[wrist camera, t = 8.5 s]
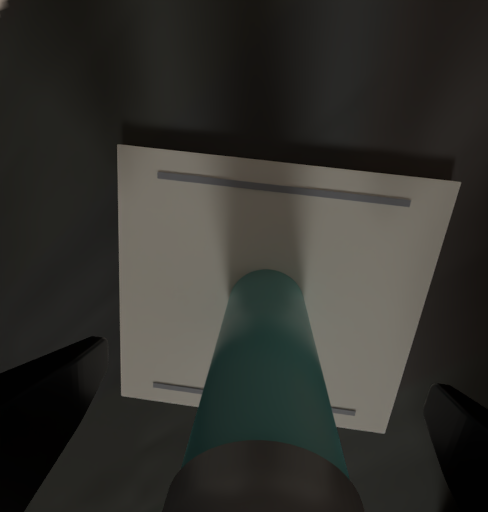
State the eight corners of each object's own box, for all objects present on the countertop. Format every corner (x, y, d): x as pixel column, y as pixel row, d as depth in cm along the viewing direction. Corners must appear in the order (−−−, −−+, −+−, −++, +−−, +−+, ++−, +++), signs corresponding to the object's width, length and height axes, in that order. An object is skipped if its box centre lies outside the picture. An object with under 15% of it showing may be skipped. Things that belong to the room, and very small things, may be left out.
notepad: (451, 180, 12) (462, 182, 11) (380, 423, 15) (385, 434, 14) (124, 144, 12) (116, 144, 11) (126, 387, 15) (120, 396, 15)
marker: (313, 272, 12) (466, 662, 3) (300, 344, 13) (380, 821, 4) (230, 261, 12) (105, 602, 3) (223, 334, 13) (110, 770, 4)
